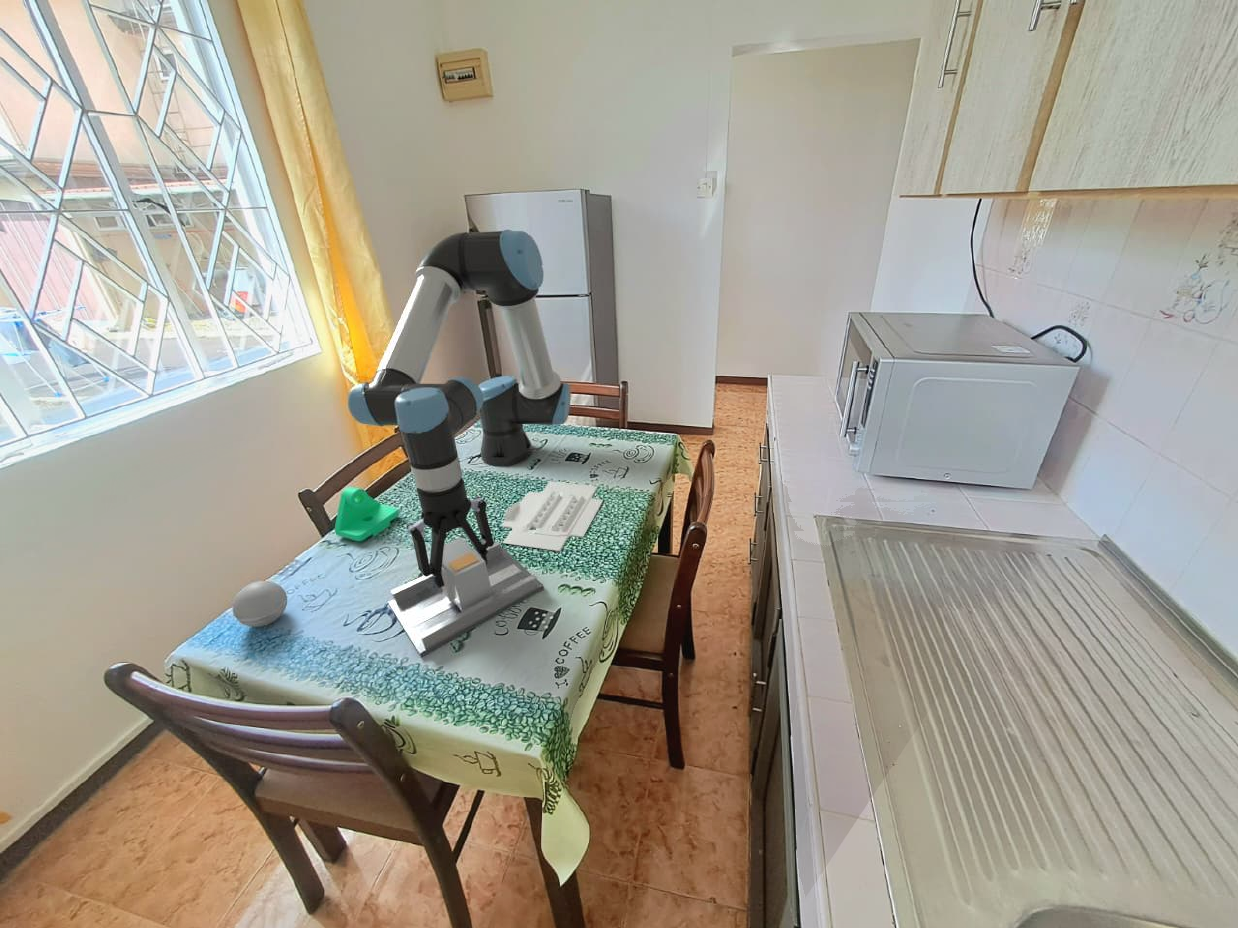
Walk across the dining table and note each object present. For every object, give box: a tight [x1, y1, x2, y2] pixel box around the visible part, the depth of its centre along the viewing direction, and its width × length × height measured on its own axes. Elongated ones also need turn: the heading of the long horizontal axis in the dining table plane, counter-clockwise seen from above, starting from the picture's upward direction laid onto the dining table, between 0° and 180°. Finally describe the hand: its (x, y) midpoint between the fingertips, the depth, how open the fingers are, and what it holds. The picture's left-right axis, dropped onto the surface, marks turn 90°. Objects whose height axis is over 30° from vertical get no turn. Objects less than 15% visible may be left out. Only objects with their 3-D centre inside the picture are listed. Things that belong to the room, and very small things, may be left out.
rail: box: [388, 541, 545, 658], centre depth 92 cm, size 24×16×3 cm, turn 130°
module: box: [442, 536, 493, 612], centre depth 90 cm, size 6×10×8 cm, turn 40°
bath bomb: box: [232, 580, 288, 628], centre depth 88 cm, size 8×8×8 cm
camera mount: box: [334, 486, 400, 542], centre depth 113 cm, size 12×8×10 cm, turn 157°
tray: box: [500, 481, 604, 552], centre depth 117 cm, size 20×28×4 cm
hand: (465, 587), depth 92 cm, fingers closed on module, 6 cm apart
